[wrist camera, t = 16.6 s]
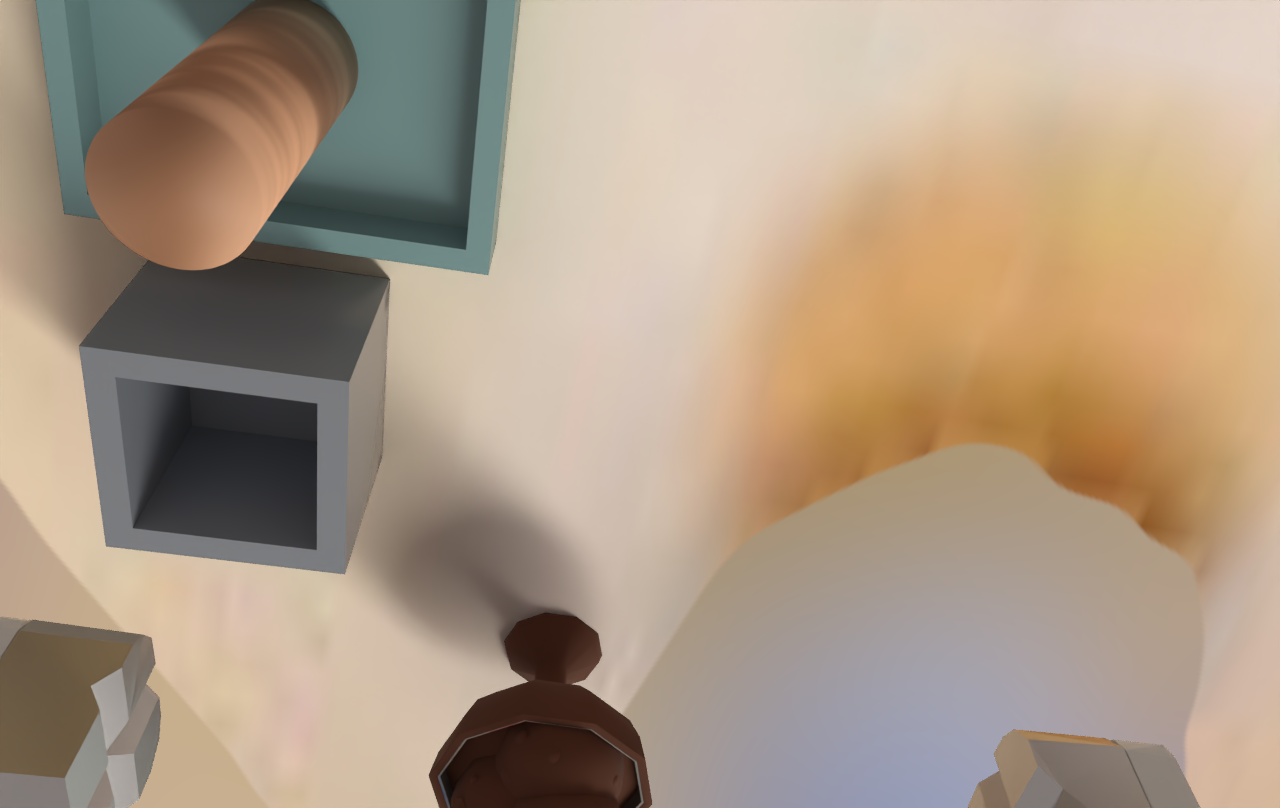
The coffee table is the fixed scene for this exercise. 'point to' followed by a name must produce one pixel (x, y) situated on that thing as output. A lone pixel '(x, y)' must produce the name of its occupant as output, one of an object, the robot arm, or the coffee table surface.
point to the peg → (222, 135)
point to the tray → (358, 140)
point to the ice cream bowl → (544, 733)
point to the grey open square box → (239, 411)
